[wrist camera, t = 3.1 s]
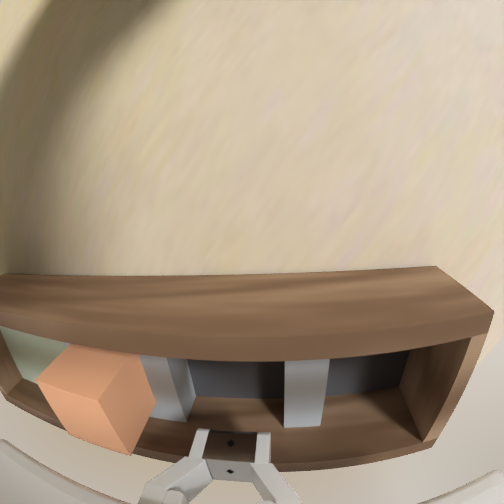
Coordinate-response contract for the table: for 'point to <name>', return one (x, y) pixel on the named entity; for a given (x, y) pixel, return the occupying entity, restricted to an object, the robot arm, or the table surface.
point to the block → (99, 395)
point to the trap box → (262, 355)
